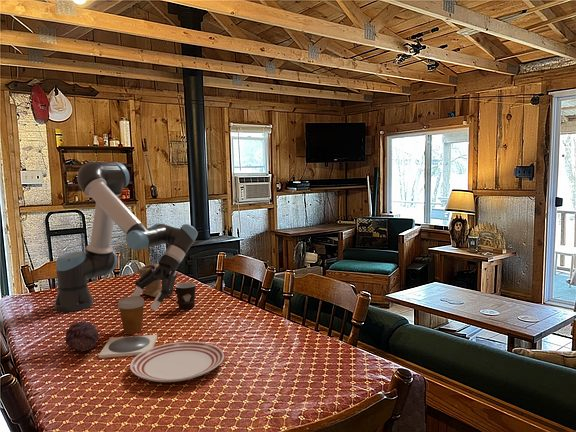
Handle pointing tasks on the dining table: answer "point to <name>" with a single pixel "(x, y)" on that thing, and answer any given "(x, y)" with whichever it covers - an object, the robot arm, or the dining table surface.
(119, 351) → the board
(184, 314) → the dining table surface
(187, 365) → the dinner plate
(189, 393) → the dining table surface
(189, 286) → the coffee mug
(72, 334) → the pine cone
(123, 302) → the disposable coffee cup
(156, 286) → the tan irregular lump
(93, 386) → the dining table surface
